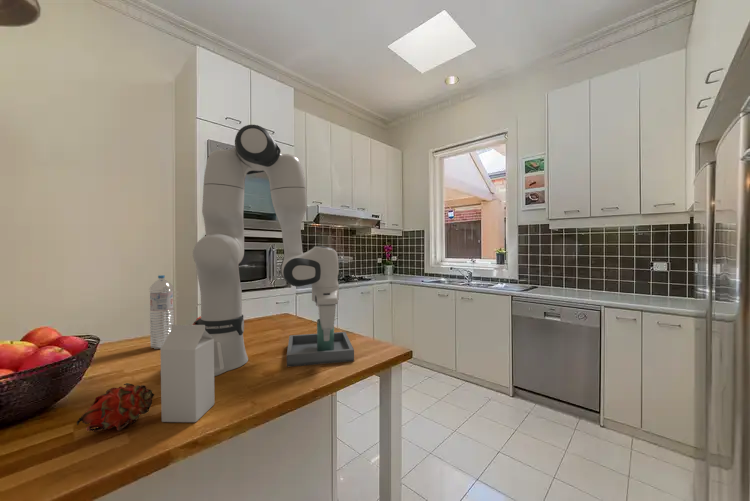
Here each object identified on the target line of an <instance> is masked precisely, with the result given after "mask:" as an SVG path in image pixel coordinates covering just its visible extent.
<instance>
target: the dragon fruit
mask: <svg viewBox="0 0 750 501" xmlns="http://www.w3.org/2000/svg"><path fill="white" fill-rule="evenodd" d="M123 386H124V387H123ZM123 386H119V387H111V388H109V389H107V390H106V391H105V393H103V394H101V395H98V396H96V397H95V400H93V402H92V404H91V405H90V406H89V407H88V408H87V410H86V411H85V412H84V413H83V414H82V415H81V416H80V417H79V418H78V420H77V421H76V425H77V426H79V424H81V423H83V424H84V425H88V426H87V427H86V429H85V430H86V432H94V433H95V432H96V433H97V432H100V431H102V430H104V431H106V429H108V430H110V429H112V428H114V427H116V430H117V431H118V432H119V431H122V429H124V428H126V426H128V424H133V423H135V422H137V420H138V419H139V416H140V415H145V414H147V413H149V412H150V409H151V406H152V404H153V398H154V397H155V395H156V394H154V392H153V390H152V389H151V388H147V387H146V385H136V386H135V384H132V383H128V382H125V383H124V384H123Z"/></svg>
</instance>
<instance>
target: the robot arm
mask: <svg viewBox="0 0 750 501" xmlns="http://www.w3.org/2000/svg"><path fill="white" fill-rule="evenodd" d="M259 173H265V174H266V175H267V178H268V181H269V190H270V197H271V202H272V206H273V209H274V212H275V215H276V217H277V221H278V222H279V226H280V230H281V236H282V245H283V258H282V261H281V264H280V268H279V269H280V271H279V272H280V275H281V277H282V279H283V280H284V281H286V283H288V284H289V285H290V286H293V287H305V286H308V285H311V300H312V302H314V303H315V306H317V307H318V311H317V312H318V319H320V323H321V328H322V330H323V333H324V341H329V340H330V330H331V329H333V327H334V328H335V321H336V320H335V318H336V306H337V305H338V303H339V294H340V292H339V291H340V289H339V288H340V286H339V280H338V278H339V273H340V272H339V270H340V266H339V264H340V263H339V255H338V252H337V251H336V249H334V248H332V247H328V246H325V245H324V246H323V245H314V246H313V247H312V248H311V249H309V250H307V251H306V252H303V242H302V232H301V230H302V229H301V228H302V223H303V219H304V217H305V214H306V211H307V206H308V191H307V184H306V179H305V178H306V177H305V174H304V170H303V166H302V164H301V161H300V159H299V158H298V157H296V156H295V155H293V154H289V153H281V147H280V146H279V145H278V143H277V141H275V139H274V137H273V136H272V135H271V134H270V132H268V130H267V129H266V128H264V127H262V126H260V125H258V124H248V125H245V126H242V127H241V128H240V129H239V130H238V132H237V133H236V135H235V138H234V147H233V148H232V149H215V150H214V151H212V152H210V154H208V157H207V161H206V165H205V170H204V176H203V188H202V189H203V190H202V206H201V209H202V217H203V221H204V230H205V236H203V237H201V238H200V239H199V240H198V241H197V242H196V243H195V245H194V246H193V249H192V258H193V261H194V262H195V268H196V274H197V279H198V285H199V291H200V316H198V317H197V318H196V320H195V321H193V323H192V324H191V325H205V330H206V331H207V332H208V333H209V334H210V335H211V336H212V337H213V338H214V377H216V376H219V375H222V374H223V373H225V372H229V371H232V370H235V369H237V368H240V367H242V366H243V365H245V364H246V363H247V362H248V361H249V357H248V354H247V350H246V347H245V341H244V331H245V318H244V314H243V302H242V301H243V298H242V297H243V294H242V292H243V291H242V285H241V280H240V279H241V278H240V266H239V264H240V263H242V261H243V259H244V256H245V226H244V209H245V208H244V207H245V186H246V185H245V184H246V176H247V175H254V174H259ZM159 374H160V376H161V372H160V373H159Z"/></svg>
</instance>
